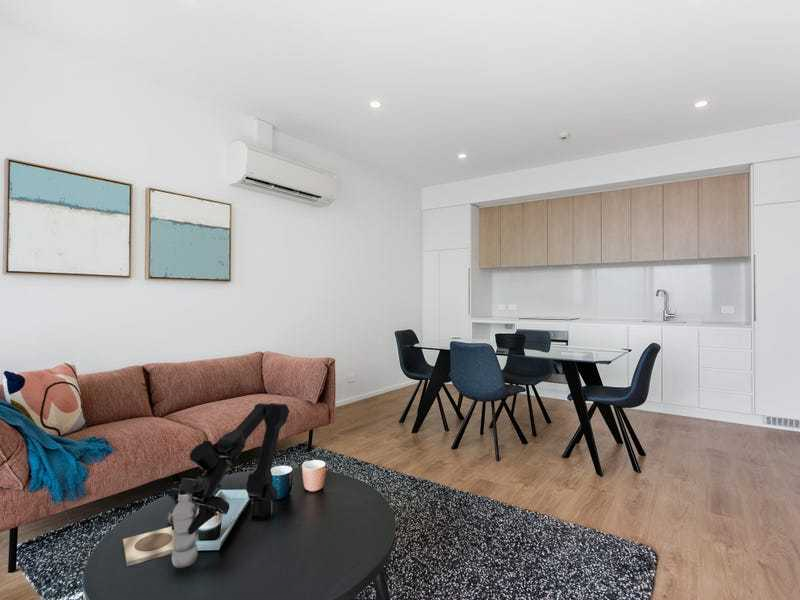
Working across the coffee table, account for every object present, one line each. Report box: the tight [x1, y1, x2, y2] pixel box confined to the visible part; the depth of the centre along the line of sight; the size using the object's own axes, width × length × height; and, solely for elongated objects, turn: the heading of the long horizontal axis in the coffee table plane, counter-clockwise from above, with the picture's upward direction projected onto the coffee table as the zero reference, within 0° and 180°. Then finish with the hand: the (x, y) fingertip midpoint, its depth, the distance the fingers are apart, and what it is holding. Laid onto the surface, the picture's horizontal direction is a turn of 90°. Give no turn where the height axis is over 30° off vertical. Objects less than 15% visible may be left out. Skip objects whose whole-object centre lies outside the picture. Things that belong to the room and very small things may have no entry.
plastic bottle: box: [171, 490, 199, 569], centre depth 119 cm, size 6×7×20 cm
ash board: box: [122, 525, 175, 567], centre depth 130 cm, size 15×15×1 cm
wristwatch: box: [167, 507, 175, 525], centre depth 145 cm, size 4×6×5 cm, turn 138°
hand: (181, 532), depth 117 cm, fingers closed on plastic bottle, 6 cm apart
